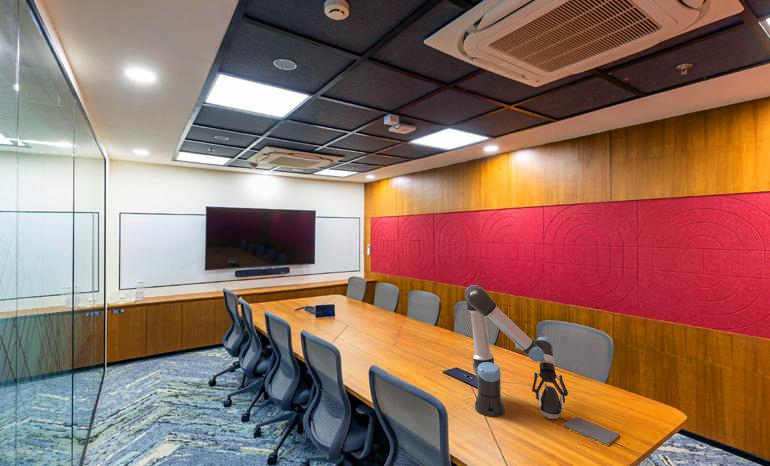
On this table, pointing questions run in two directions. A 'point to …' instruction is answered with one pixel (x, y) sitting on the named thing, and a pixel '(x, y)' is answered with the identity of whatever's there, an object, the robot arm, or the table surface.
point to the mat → (591, 430)
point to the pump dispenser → (550, 403)
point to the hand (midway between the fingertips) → (551, 407)
